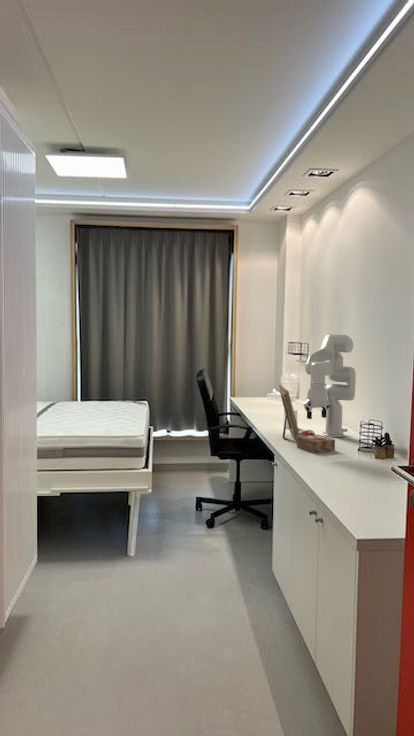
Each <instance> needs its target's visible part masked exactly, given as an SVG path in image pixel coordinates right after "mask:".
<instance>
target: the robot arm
mask: <svg viewBox="0 0 414 736" xmlns="http://www.w3.org/2000/svg"><path fill="white" fill-rule="evenodd" d="M353 349H354V341H353V339H352V337H350V336H348V335H346V334H328V335H325V337H324V339H323V340H322V343H321V346H320V349H318V350H316V351H314V352H313V353H311V354H310V355H309V356H308V357H307V361H306V363H305V365H304V366H305V367H304V368H305V373H306V374H307V375H308V376H309V375H310V387H309V388H308V391H307V398H306V400H305V401H304V402H303V408H304V409H305V411H306V419H309V420H312V419H313V414H312V413H313V411H312V410H313V409H315V408H317V409H318V408H321V418H324V419H325V431H324V432H322V436H324V437H328V438H343V437H345V434H344V432H345V433H347V432H348V428H343V405H342V403H341V402H340V401H348V402H350V401H354V399H355V398H356V383H357V382H356V381H357V380H356V378H357V377H356V369H355V368H354V367H353V366H344V357H343V355H342V354H341V353H347V354H348V353H351V352H352V351H353ZM327 376H328V380H329V381H331V382H334V383H331V384H326V377H327ZM337 382H338V383H337ZM341 383H346V384H341Z"/></svg>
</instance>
